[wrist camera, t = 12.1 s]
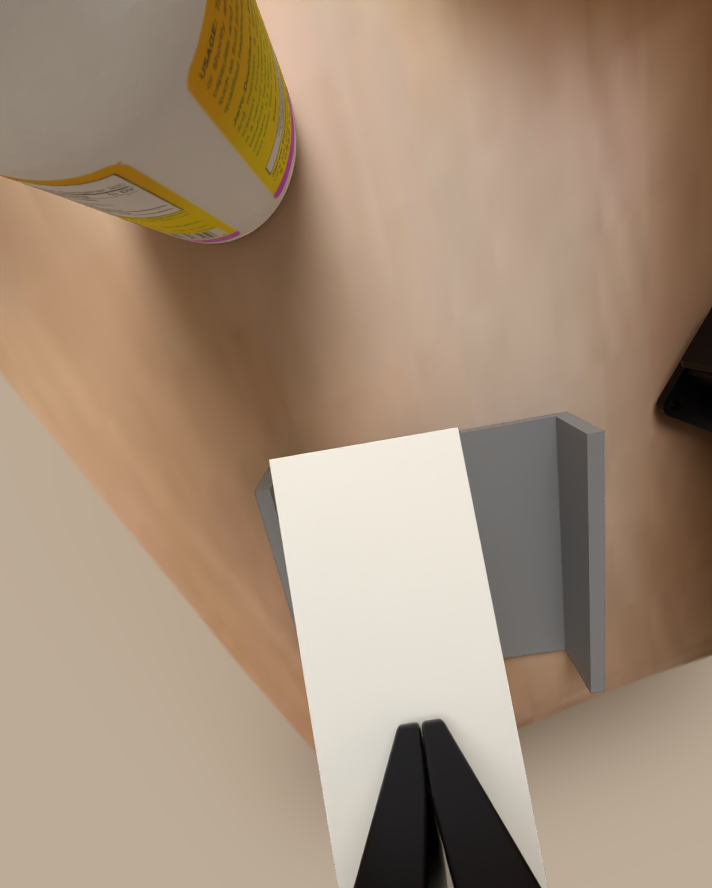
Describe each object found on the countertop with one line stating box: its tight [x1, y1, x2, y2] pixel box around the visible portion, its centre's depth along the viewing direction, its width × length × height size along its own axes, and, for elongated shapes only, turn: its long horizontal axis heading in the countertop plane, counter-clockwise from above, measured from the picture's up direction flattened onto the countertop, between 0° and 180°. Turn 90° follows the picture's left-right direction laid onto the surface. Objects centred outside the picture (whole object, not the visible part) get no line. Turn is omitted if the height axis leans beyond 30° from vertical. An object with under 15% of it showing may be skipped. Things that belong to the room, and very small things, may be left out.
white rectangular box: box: [269, 427, 548, 888], centre depth 13 cm, size 4×12×9 cm, turn 11°
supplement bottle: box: [0, 0, 296, 244], centre depth 8 cm, size 7×7×13 cm
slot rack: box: [255, 412, 605, 694], centre depth 18 cm, size 13×13×4 cm
